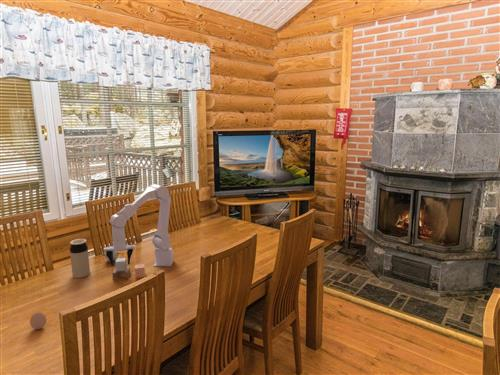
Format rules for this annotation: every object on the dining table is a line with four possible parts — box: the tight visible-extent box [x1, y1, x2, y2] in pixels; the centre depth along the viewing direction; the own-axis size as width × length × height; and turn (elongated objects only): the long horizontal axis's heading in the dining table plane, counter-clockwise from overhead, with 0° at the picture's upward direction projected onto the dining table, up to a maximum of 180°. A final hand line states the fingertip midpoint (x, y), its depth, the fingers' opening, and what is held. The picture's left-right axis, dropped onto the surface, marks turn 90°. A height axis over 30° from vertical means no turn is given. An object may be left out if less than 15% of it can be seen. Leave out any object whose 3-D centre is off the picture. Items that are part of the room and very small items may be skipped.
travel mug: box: [69, 238, 91, 279], centre depth 168 cm, size 8×8×18 cm
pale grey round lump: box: [102, 251, 120, 263], centre depth 186 cm, size 9×8×10 cm
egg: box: [29, 310, 47, 330], centre depth 125 cm, size 5×5×7 cm
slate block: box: [114, 257, 128, 272], centre depth 168 cm, size 4×4×5 cm
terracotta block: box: [134, 263, 146, 279], centre depth 170 cm, size 4×4×5 cm
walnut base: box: [111, 265, 131, 281], centre depth 168 cm, size 7×7×4 cm
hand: (120, 264), depth 168 cm, fingers open, 7 cm apart
